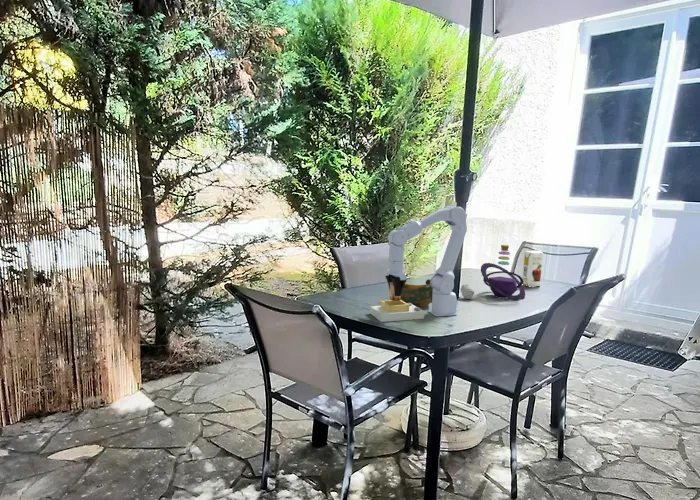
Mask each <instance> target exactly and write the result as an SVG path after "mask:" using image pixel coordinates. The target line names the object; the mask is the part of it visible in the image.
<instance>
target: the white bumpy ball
mask: <svg viewBox="0 0 700 500" xmlns="http://www.w3.org/2000/svg"><path fill="white" fill-rule="evenodd" d="M460 292H461V295H462V297H463V299H466V300H470V299H472V298H473V296H475V289H474V288H473V286H472V285H470V284H468V283H464V284H462V285H461V286H460Z"/></svg>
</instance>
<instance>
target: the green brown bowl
mask: <svg viewBox="0 0 700 500" xmlns="http://www.w3.org/2000/svg"><path fill="white" fill-rule="evenodd" d="M432 293H433V287H432V286H431V284H426V283H425V284H418V285H417V284H416V285H415V284H407V283H405V284H404V286H403V289H402V292H401V300H402V301H404V302H405V303H412V305H414V306H416V307H418V308H420V309H421V308H424V309H425V308H428V307H429V305H431V304H432Z"/></svg>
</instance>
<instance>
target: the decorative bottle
mask: <svg viewBox="0 0 700 500" xmlns="http://www.w3.org/2000/svg"><path fill="white" fill-rule="evenodd" d="M500 247H501V248H500V250H501V251H498V254H499V255H502V256H498V257H497V259H498V260H500V261H498V262H497V264H498V265H497V264H496V263H490V262H485V263H482V265H481V266H480V273H481V275H482V278H483V282H484V284H485V285H486V286H488V287H489V288H490V290H491V292H492V294H493V295H494V297H496V298H499V297H500V299H501V298H502V299H507V298H508V299H511V300H514V301H520V300H519V299H522V300H523V299H525V297H526V291H525V288H524V286H523V285H522V284H523V279H522V276H520V275H519V274H517V273H514V272H510V271H508V270H507V269H506V268H504V267H502V266H509V265H510V262H509V260H510V257H509V256H510V255H511V253H510V251H509V245H508V244H501V245H500ZM500 265H502V266H500ZM489 268H493V269H494V268H495V269H498V270H499V271H493V272H490V273H487V270H488V269H489ZM495 274H507V275H508V276H509V277H507V276H494V275H495ZM489 276H492V277H489ZM518 279H519V280H518ZM518 288H519V293H518V294H517V295H515V292H517V291H518Z"/></svg>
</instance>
